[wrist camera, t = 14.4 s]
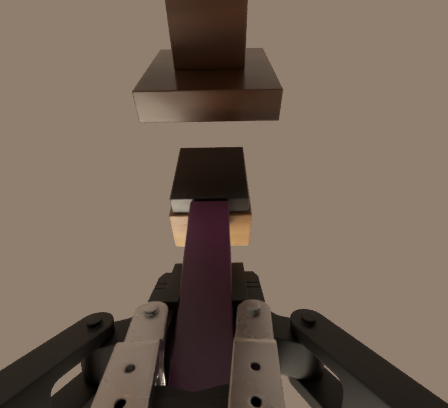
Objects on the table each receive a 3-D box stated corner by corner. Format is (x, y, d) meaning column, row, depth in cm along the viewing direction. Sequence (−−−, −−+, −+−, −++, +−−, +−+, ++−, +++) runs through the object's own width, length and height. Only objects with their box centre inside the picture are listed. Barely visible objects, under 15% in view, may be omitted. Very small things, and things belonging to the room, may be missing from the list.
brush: (117, 415, 8) (147, 433, 11) (284, 412, 8) (269, 430, 11) (177, 146, 19) (184, 190, 22) (245, 145, 19) (243, 189, 22)
